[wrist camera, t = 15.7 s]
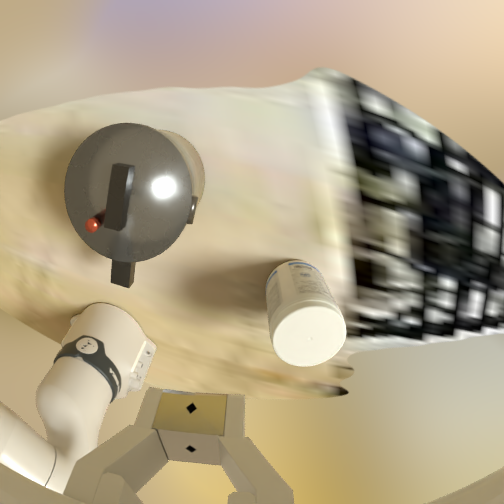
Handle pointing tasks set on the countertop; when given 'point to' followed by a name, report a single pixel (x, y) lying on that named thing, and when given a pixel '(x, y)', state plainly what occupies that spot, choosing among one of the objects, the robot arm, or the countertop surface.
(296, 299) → the supplement tub
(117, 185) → the cooker lid
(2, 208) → the countertop surface
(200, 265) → the countertop surface
